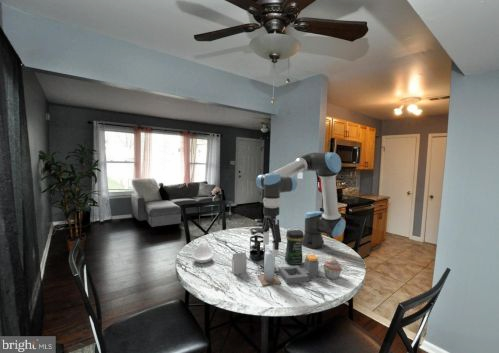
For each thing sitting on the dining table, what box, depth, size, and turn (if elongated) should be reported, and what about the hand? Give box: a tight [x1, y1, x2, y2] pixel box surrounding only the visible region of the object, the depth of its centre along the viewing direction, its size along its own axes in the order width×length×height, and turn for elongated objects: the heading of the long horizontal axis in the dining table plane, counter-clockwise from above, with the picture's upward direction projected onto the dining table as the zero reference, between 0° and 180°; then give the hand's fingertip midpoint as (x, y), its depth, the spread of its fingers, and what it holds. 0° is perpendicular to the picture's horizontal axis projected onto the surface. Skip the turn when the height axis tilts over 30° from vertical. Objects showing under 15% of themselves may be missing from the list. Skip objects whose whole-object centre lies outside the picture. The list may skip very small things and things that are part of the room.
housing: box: [278, 257, 320, 285], centre depth 116 cm, size 18×11×8 cm, turn 104°
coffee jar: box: [284, 229, 304, 265], centre depth 132 cm, size 10×8×19 cm
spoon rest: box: [191, 240, 214, 264], centre depth 137 cm, size 24×12×7 cm, turn 11°
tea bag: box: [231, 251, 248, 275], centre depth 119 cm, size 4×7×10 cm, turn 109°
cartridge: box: [263, 250, 276, 282], centre depth 112 cm, size 5×5×13 cm
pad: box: [257, 272, 282, 287], centre depth 112 cm, size 9×9×1 cm
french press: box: [249, 218, 266, 262], centre depth 137 cm, size 12×9×23 cm
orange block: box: [304, 254, 319, 262], centre depth 117 cm, size 5×5×6 cm
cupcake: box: [322, 256, 343, 280], centre depth 117 cm, size 9×9×10 cm
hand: (270, 249), depth 111 cm, fingers open, 13 cm apart
